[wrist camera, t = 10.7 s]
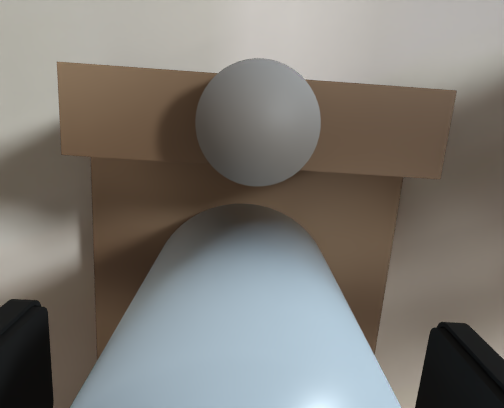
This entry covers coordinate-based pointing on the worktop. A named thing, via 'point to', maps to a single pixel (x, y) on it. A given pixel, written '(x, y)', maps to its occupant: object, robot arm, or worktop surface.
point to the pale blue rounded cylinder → (238, 325)
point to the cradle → (246, 164)
